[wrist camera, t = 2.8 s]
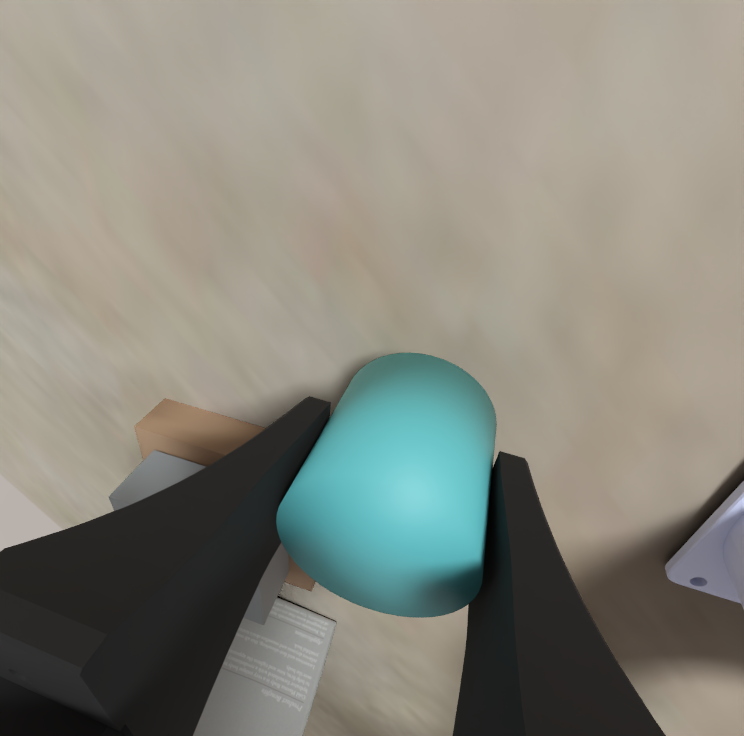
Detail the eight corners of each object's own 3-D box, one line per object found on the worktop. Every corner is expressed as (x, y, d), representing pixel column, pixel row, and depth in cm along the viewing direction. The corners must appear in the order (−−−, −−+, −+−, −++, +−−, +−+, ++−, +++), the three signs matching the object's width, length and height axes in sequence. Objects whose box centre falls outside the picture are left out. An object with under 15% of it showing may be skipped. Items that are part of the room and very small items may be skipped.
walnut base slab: (339, 439, 19) (317, 483, 17) (329, 546, 23) (311, 591, 21) (173, 391, 20) (133, 426, 18) (195, 501, 24) (166, 539, 22)
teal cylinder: (517, 377, 11) (512, 525, 7) (474, 490, 14) (454, 640, 10) (352, 335, 12) (274, 450, 8) (340, 449, 14) (277, 575, 11)
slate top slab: (286, 492, 17) (254, 547, 15) (288, 572, 21) (263, 625, 19) (153, 449, 18) (108, 496, 16) (177, 532, 22) (142, 579, 20)
